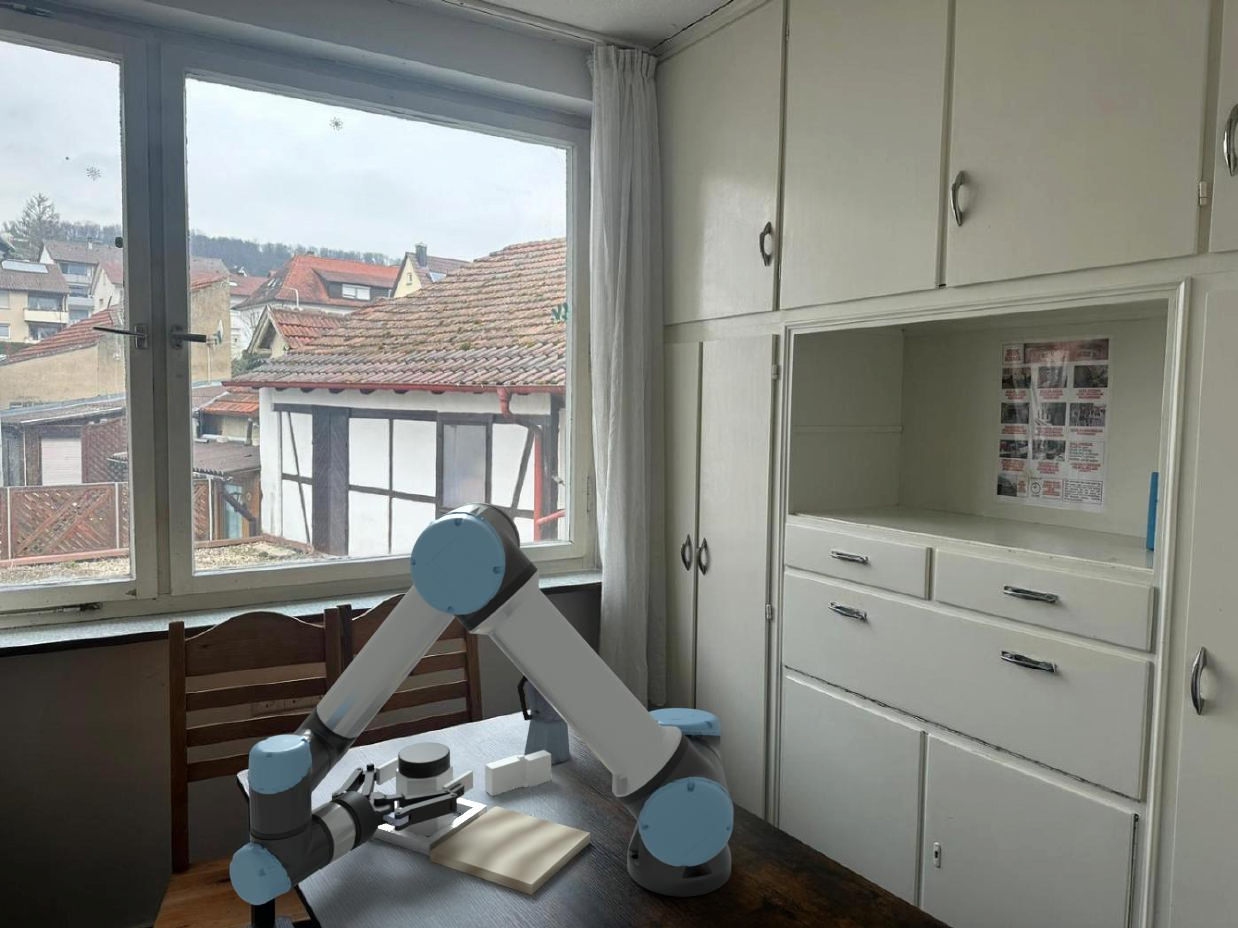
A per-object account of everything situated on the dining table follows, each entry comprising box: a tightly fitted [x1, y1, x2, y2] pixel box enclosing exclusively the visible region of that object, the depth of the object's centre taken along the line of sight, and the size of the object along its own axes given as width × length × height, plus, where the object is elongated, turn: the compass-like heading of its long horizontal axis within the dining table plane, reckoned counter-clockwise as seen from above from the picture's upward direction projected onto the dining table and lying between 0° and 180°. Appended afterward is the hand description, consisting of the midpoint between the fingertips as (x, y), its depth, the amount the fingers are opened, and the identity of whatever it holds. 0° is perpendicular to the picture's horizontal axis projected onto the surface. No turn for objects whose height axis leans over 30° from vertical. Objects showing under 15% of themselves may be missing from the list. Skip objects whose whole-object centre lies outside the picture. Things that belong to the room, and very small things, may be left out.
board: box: [429, 805, 591, 896], centre depth 129 cm, size 18×16×2 cm
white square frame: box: [372, 797, 488, 857], centre depth 137 cm, size 14×14×2 cm
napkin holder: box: [484, 750, 552, 796], centre depth 150 cm, size 15×11×6 cm
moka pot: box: [517, 674, 571, 765], centre depth 162 cm, size 10×15×20 cm, turn 148°
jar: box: [395, 741, 455, 837], centre depth 136 cm, size 9×8×12 cm
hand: (438, 769), depth 139 cm, fingers open, 13 cm apart
